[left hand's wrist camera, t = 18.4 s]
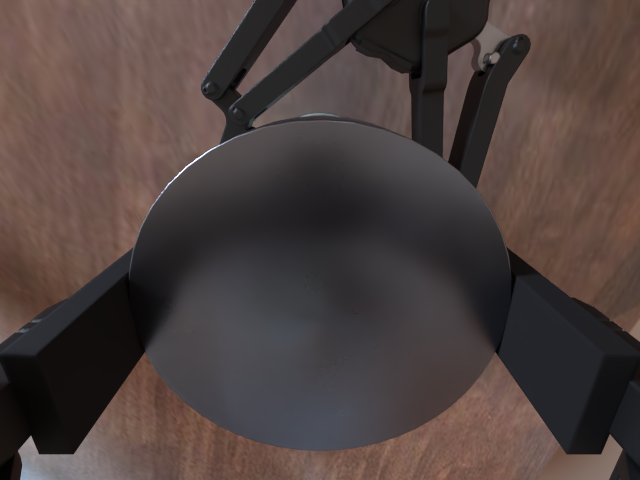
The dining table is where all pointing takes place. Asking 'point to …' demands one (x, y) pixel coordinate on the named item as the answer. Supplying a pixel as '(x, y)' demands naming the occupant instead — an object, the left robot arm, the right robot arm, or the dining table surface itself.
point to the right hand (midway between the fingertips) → (295, 252)
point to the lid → (320, 284)
